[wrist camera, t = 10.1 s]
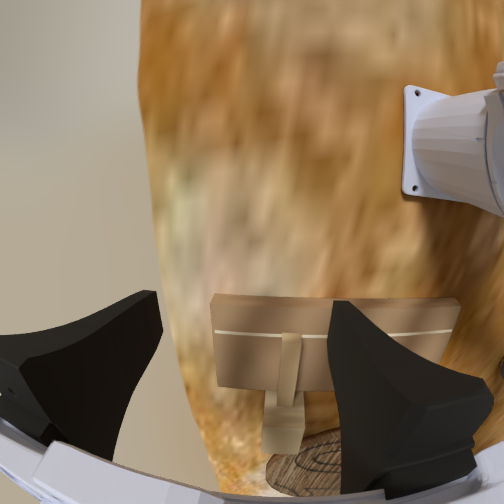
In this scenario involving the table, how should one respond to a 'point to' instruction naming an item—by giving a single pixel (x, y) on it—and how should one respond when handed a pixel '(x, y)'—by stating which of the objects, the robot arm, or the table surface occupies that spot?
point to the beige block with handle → (285, 403)
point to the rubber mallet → (502, 367)
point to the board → (314, 334)
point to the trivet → (309, 467)
